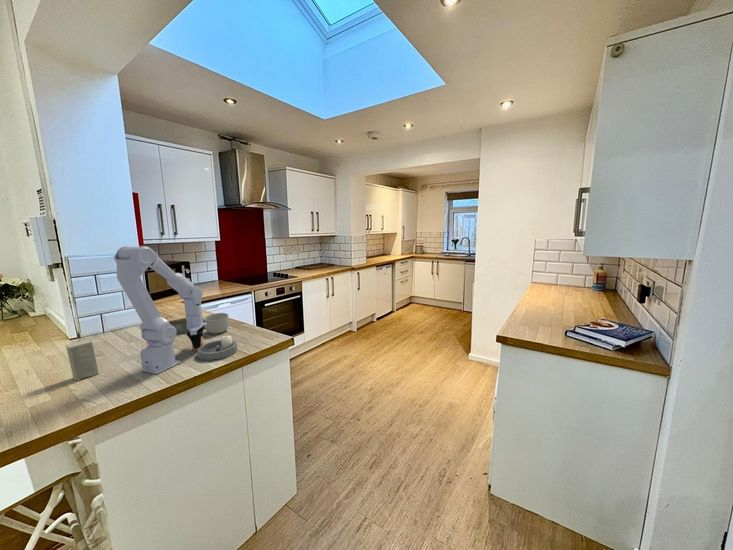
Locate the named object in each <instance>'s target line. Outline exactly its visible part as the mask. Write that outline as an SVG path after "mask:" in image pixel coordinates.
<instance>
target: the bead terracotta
mask: <svg viewBox="0 0 733 550" xmlns="http://www.w3.org/2000/svg"><path fill="white" fill-rule="evenodd" d="M202 345H204V338H203V335H202V336H201V346H202ZM191 346H192V351H193V352H197V350H198V348H197V349H194V347H193V344H192V343H191Z"/></svg>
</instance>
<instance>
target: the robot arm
mask: <svg viewBox="0 0 733 550" xmlns="http://www.w3.org/2000/svg"><path fill="white" fill-rule="evenodd" d="M113 260H114V262H115V263H116V278H117V280H118V283H119V284H120V286H121V287H122V289H123V292H125V295H126V297H127V298H128V300H129V301H130V303H131V304H132V307H133V308H134V310H135V312H136V314H137V315H138V317H139V318H140V321H141V324H140V325H139V329H140V331H141V337H142V338H141V339H143V341H146V344H147V346H146V347H144V348H143V349H141V350H140V355H139V356H140V362H141V369H140V370H141V372H145V373H149V374H153V375H157V374H158V375H159V374H160V373H163V372H164V371H165V370H168V369H170V368H173V367H174V366H176V365H180V364H181V363H182V361H181V360H177V359H176V355H175V347H174V342H175V338H176V337H177V335H176V329H175V327H174V326H172V325H171V324H170V323H169V321H170V320H168V319H166V318H164V317H163V316H162V315H161V314H160V311H159V310H158V308H157V306H156V305H155V302H154V301H153V299H152V297H151V294H150V293H149V291H148V289H147V287H146V286H145V284H144V281H143V280H142V277H141V276H142V275H143V274H144V273H145V272H146V271H147V269H148V268H150V269H151V270H153V271H154V272H155V273H157V274H159V275H160V276H161V277H163V278H165V280H166V284H167V285H168V286H169V287H171V288H172V289H173V290H174V291H176V292H177V293H178V297H179V298H180V299H183V306H184V312H185V318H186V321H187V329H188V330H189V331H190V332H187V333H186V336H187V337H188V339H189V340H190V341H191V345H192V344H193V347H194V349H197V348H199V347H200V346H201V336H202V337H203V334H204V330H205V329H204V327H205V326H206V325H207V323H203V318H202V317H203V310H202V300H203V299H202V297H203V295H204V291H203V290H202V288H201V287H200V286H199V285H194V284H193V282H192V281H191V280H189V279H188V278H186V277H185V276H186V275H185V274H184V273H181V272H175V271H174V270H172V268H171V267H169V266H168V265H167V264H166V263H165V261H163V260H162V259H161V258H160V257H159V254H158V253H157V252H156V251H154V249H153V248H151V247H149V246H145V245H143V246H122V247H119V248H118V250H117V251H116V253H115V254H114V256H113Z"/></svg>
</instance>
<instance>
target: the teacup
mask: <svg viewBox="0 0 733 550" xmlns="http://www.w3.org/2000/svg"><path fill="white" fill-rule="evenodd" d="M202 318H203V321H204V323H207V325H206V326H205V327H204V328H205V329H204V330H205V331H206V332H207V333H210V334H212V335H217V334H218V333H219V334H223V333H224V332H226V331H227V330H228V329H229V326H230V319H229V318H230V317H229V313H227V312H217V313H211V314H208V315H205V316H202Z"/></svg>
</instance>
